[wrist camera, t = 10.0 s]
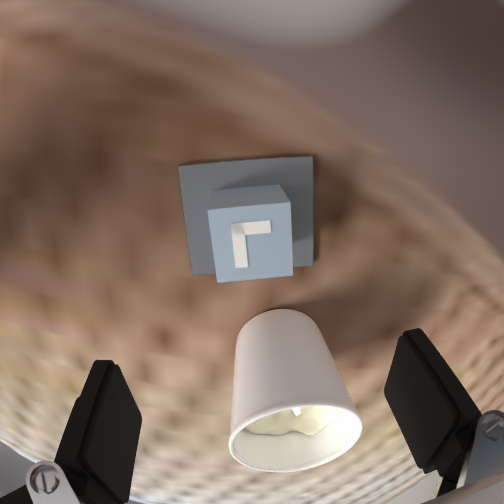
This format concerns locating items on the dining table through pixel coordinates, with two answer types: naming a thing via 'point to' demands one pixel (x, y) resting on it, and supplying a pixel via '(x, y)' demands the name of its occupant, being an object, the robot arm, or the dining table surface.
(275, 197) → the letter block
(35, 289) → the dining table surface
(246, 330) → the candle holder
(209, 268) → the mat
